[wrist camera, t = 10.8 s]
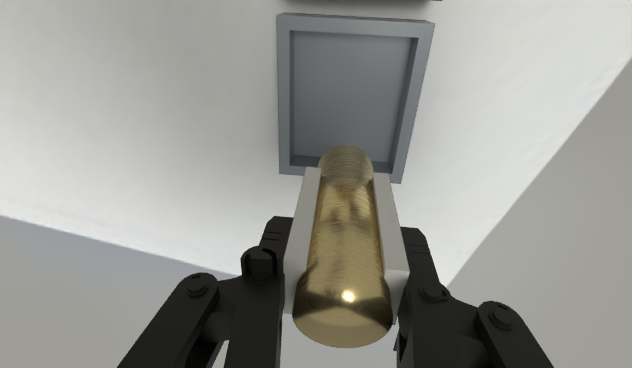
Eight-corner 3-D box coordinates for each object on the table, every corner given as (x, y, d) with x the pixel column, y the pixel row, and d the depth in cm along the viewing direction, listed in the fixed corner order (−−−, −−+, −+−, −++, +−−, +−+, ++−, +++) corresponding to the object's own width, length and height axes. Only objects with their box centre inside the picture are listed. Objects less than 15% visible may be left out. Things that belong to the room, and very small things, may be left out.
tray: (285, 158, 35) (279, 173, 32) (284, 12, 27) (276, 14, 24) (396, 167, 34) (400, 183, 31) (425, 20, 27) (435, 23, 24)
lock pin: (317, 191, 20) (292, 342, 11) (319, 143, 18) (291, 277, 9) (369, 194, 19) (385, 352, 11) (376, 146, 18) (401, 287, 9)
